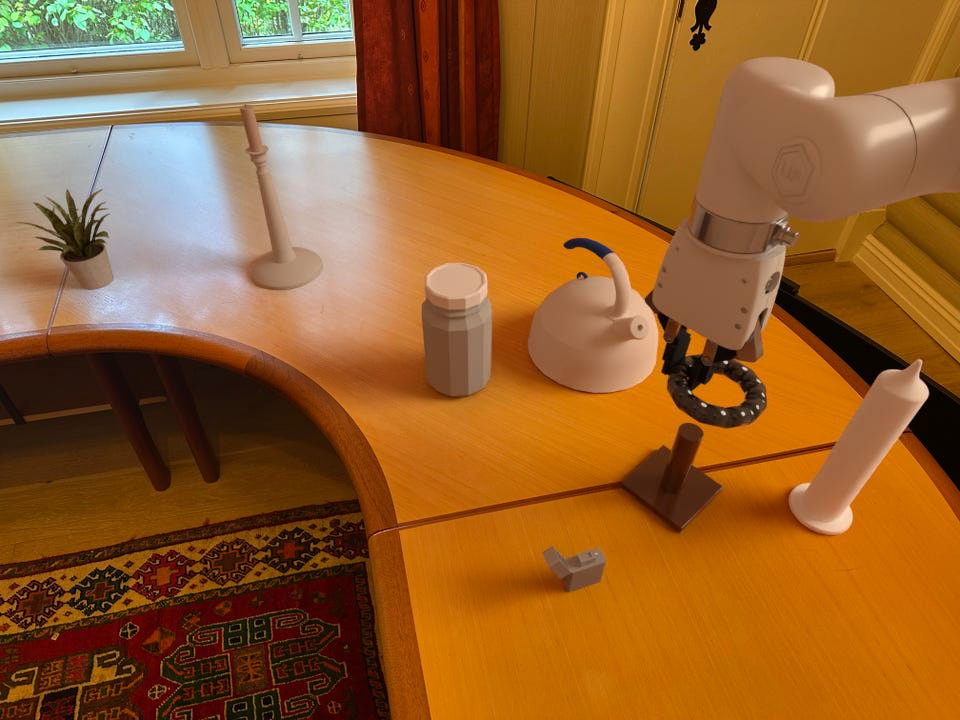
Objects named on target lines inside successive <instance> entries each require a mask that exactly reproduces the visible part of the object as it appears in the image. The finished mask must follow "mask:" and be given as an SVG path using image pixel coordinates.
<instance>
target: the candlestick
mask: <svg viewBox="0 0 960 720" xmlns="http://www.w3.org/2000/svg"><path fill="white" fill-rule="evenodd" d="M239 112H240V116H241V119H242V123H243V127H244V130H245V135H246V138H247V142H248V146H249V147H247V148H245V150H244V152H245V153H246V154H247V155H249V156H250V161H251V163H253V164H254V166H255V167H256V171H255V175H256V177H257V183H258V187H259V192H260V197H261V203H262V207H263V211H264V212H263V213H264V216H265V221H266V225H267V230H268V231H267V232H268V236H269V240H270V246H271V250H270V251H268V252H266V253H264V254H263V255H261V256H259V258H258V259H257V260H255V262H254V263H253V264H252V265H251V268H250V275H251V279H252V281H253V282H254V283H255V284H256V285H257V286H259V287H262V288H264V289H267V290H274V291H285V290H291V289H297V288H299V287H302V286H305V285H307V284H310V283H311V282H313V281H314V280H315V279H316V278H317V277H319V276H320V274H321V272H322V270H323V269H324V268H323V266H324V264H323V259H322V257H321V256H320V255H319V254H318V253H316V252H315V251H313V250H311V249H308V248H305V247H300V246H293V245H292V243H291V239H290V236H289V233H288V229H287V226H286V223H285V220H284V217H283V213H282V210H281V206H280V203H279V200H278V197H277V194H276V191H275V187H274V184H273V180H272V177H271V174H270V169H268V167H267V161H268V159H269V157H268V155H267V152H268V151H269V149H270V148H269V146H267V145H265V144H263V142H262V141H263V140H262V138H261V133H260V130H259V125H258V122H257V116H256V113H255V110H254V106H253V105H252V104H246V103H244V105H240V106H239Z"/></svg>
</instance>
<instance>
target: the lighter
mask: <svg viewBox="0 0 960 720" xmlns="http://www.w3.org/2000/svg"><path fill="white" fill-rule="evenodd" d="M541 555H542V557H543V558H544V561H545V563H546V565H547V567H548V568H549V570H551V571H552V572H553V573H554V574H555V575H556V576H557V578H559V579H561V581H562V583H563V586H564V588H565V590H566V592H567V593H571V592H574V591H577V590H580V589H583V588H586V587H588V586H589V587H590V586H591V585H594V584H597V583H601V581H602V577H603V574H604V571H605V566H606V563H607V559H606V557H605V554H604V553H603V551H602V549H601V548H600V547H597V548H594V549H592V548H591V549H587V550H584V551H581V552H578V553H576V555H573V556H569V557H567V558H565V557H564V555H562V554H561V552H559V551H558V550H557V548H556V547H555V546H554V545H552V546H550V547H549V548H547V549H546V550H544V551H542V552H541Z"/></svg>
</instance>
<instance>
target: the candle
mask: <svg viewBox="0 0 960 720" xmlns="http://www.w3.org/2000/svg"><path fill="white" fill-rule="evenodd" d="M922 365H923V360H922V359H920V358H917V359H916V360H914V361H913V362H912V363H911V364H910V365H909V366H907V367H906V368H905V369H893V368H892V369H886V370H883V371H881V372H880V373H879V374H878V375H877V377H876V378H875V380H874V381H873V382H872V385H871V386H870V388H869V389H868V391H867V393H866V394H865V396H864V397H863V399H862V401H861V402H860V404H859V405H858V407H857V409H856V410H855V412H854V413H853V415H852V417H851V418H850V420H849V421H848V422H847V424H846V426H845V428H844V429H843V431H842V432H841V434H840V436H839V437H838V439H837V440H836V442H835V444H834V445H833V447H832V448H831V451H830V452H829V453H828V455H827V456H826V458H825V460H824V461H823V463H822V465H821V466H820V468H819V469H818V471H817V472H816V474H815V476H814V477H813V479H812V480H811V482H805V483H801V484H798V485H796V486H795V487H794V488H793V489H792V490H791V492H790V493H789V496H788V505H789V509H790V511H791V513H792V515H793V516H794V517H795V518H796V520H797V521H798V522H799V523H801V525H803V526H804V527H806V528H807V529H809V530H811V531H813V532H816V533H818V534H822V535H827V536H835V535H836V536H837V535H840V534H843V533H845V532H846V531H848V530H849V528H850V527H851V525H852V523H853V518H854V516H853V511H852V508H851V506H850V505H851V504H852V503H853V502H854V500H855V499H856V497H857V496H858V494H859V493H860V492H861V490H862V488H863V487H864V486H865V485H866V483H867V482H868V480H870V478H871V476H872V475H873V474H874V472H875V471H876V469H877V468H878V467H879V465H880V464H881V463H882V461H883V460H884V458H885V457H886V456H887V454H889V452H890V451H891V449H892V448H893V446H894V445H895V443H896V442H897V441H898V439H899V438H900V437H901V435H902V434H903V432H904V431H905V430H906V428H907V427H908V426H909V424H910V423H911V421H912V420H913V419H914V417H915V416H916V415H917V413H918V412H919V410H920V409H921V408H922V406H923V405H924V404H925V402H926V401H927V400H928V398H929V395H930V392H929V391H930V390H929V388H928V386H927V383H925V382H924V381H923V380H922V379H921V378H920V372H921V369H922Z"/></svg>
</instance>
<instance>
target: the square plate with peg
mask: <svg viewBox="0 0 960 720" xmlns="http://www.w3.org/2000/svg"><path fill="white" fill-rule="evenodd" d="M704 436H705V433H704V430H703V429H702V427H700V426H699V425H698V424H695V423H693V422H684V423H682V424H680V425H679V426H678V429H677V431H676V434H675V437H674V441H673V444H672V447H671V449H670V448H669V447H667V446H666V445H665V444H663V445H661V446H660V447H659V448H658V449H657V450H656V451H654V452H653V453H652V454H651V455H650V456H648V457H647V458H646V459H645V460H644V461H643V462H641V464H640V465H638V466H637V467H636V468H635V469H634V470H633V471H631V472H630V473H629V474H628V475H627V476H626V477H624V479H622V480H621V482H620V484H619V487H620V488H621V489H622V490H623V491H625V492H627V494H629V495H630V496H631V497H633V498H634V499H635V500H637V502H639V503H641V504H642V505H643V506H644V507H646V509H648V510H650V511H651V512H652V513H653V514H655V515H656V516H657V517H658V518H659V519H661V520H662V521H664V522H665V523H666V524H667V525H668V526H670V527H671V528H672V529H674V530H675V531H677V532H678V533H679V534H680V533H681V532H683V530H684V529H686V528H687V526H688V525H689V524H691V522H692V521H694V519H695V518H697V517H698V515H699V514H700V513H702V511H703V510H704V509H705V508H706V507H707V506H709V504H710V503H711V502H712V501H713V500H714V499H715V498H716V497H717V496H718V495H719V494H720V493H721V492H722V491H723V488H724V486H723V485H722V484H720V483H719V482H717V481H716V480H714V479H713V478H712V477H710V476H709V475H707V474H706V473H705V472H703V471H701V469H699V468H697V467H696V466H694V465H693V464H694V462H695V459H696V457H697V454H698V451H699V449H700V446H701V444H702V441H703V439H704Z"/></svg>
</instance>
